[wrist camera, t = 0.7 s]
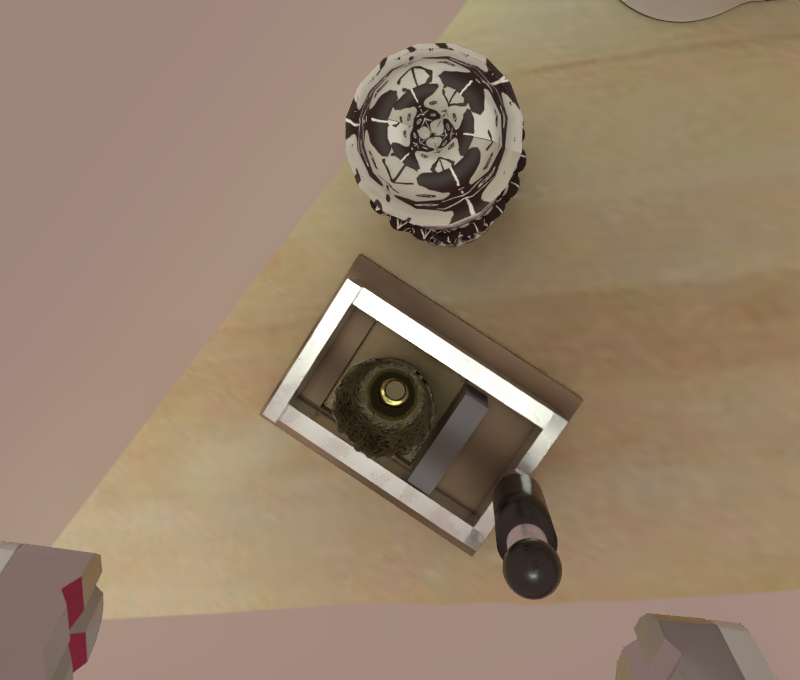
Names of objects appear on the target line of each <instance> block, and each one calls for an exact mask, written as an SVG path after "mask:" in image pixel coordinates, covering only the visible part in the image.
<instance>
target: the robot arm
mask: <svg viewBox="0 0 800 680" xmlns="http://www.w3.org/2000/svg"><path fill="white" fill-rule="evenodd" d="M621 1H623V2H624V3H625V4H627V5H628V6H629V7H631V8H633V9H634V10H636V11H638V12H640V13H642V14H644V15H647V16H650V17H653V18H656V19H661V20H666V21H676V22H686V21H695V20H701V19H705V18H709V17H712V16H715V15H718V14H721V13H723V12H725V11H727V10H729V9H732V8H734V7H736V6H738V5H740V4H743V3H746V2H749V1H763V0H621ZM101 573H102V565H101V555H99V554H96V553H89V552H81V551H74V550H67V549H59V548H52V547H45V546H37V545H30V544H20V543H13V542H5V541H0V680H73V672H75V671H76V670H77V669H79V668H80V667H81V666H83V665H84V664H85V663H86V662H87V661H88V659H89V657H90V654H91V652H92V649H93V647H94V645H95V642H96V638H97V634H98V631H99V627H100V624H101V620H102V612H103V592H102V591H101V590H100V589H99V588H98V587H97V586H96V583H97V581H98V579H99V577H100V575H101ZM634 630H635V633H636V635H637V638H638V639H637V640H635V641H634V642H632V643H630V644H629V645H627V646H625V647H624V648H623V650H622V652H621V654H620V657H619V659H618V661H617V668H616V680H776V678H775V676H774V674H773V672H772V671H771V669H770V667H769V665H768V664H767V662H766V660H765V659H764V657H763V655H762V653H761V651H760V649H759V648H758V646H757V645H756V643H755V641H754V639H753V637H752V635H751V634H750V632H749V631H748V629H746V628H745V627H744V626H743V625H742V624H741V623H734V622H725V621H716V620H706V619H701V618H691V617H681V616H671V615H660V614H649V613H647V614H645V615H644V616H642V617H640V619H639V620H638V622H637V624H636V626H635V627H634Z"/></svg>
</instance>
